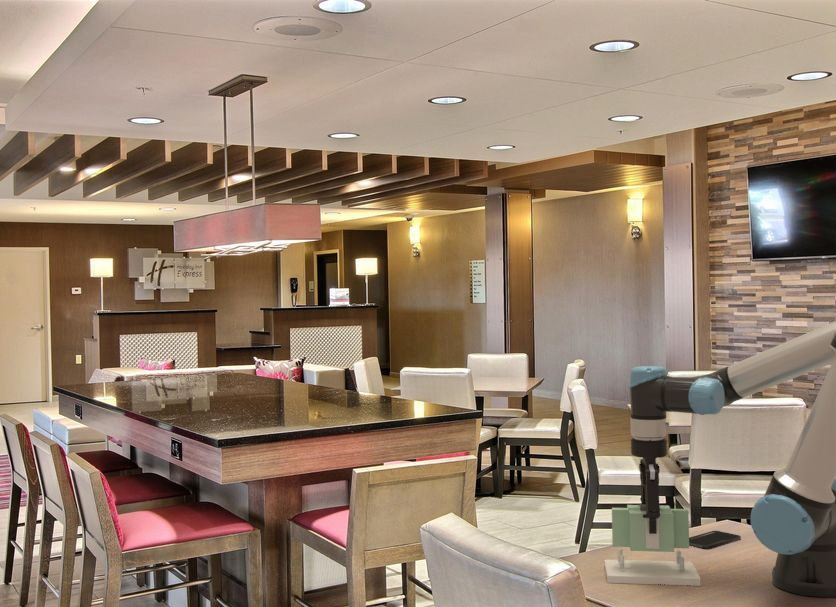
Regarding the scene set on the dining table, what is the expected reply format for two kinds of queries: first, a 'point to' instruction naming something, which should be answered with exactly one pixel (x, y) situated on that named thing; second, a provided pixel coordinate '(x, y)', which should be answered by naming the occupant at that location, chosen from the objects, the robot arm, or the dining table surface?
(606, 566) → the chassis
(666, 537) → the green stepped block
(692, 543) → the phone
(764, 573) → the dining table surface
